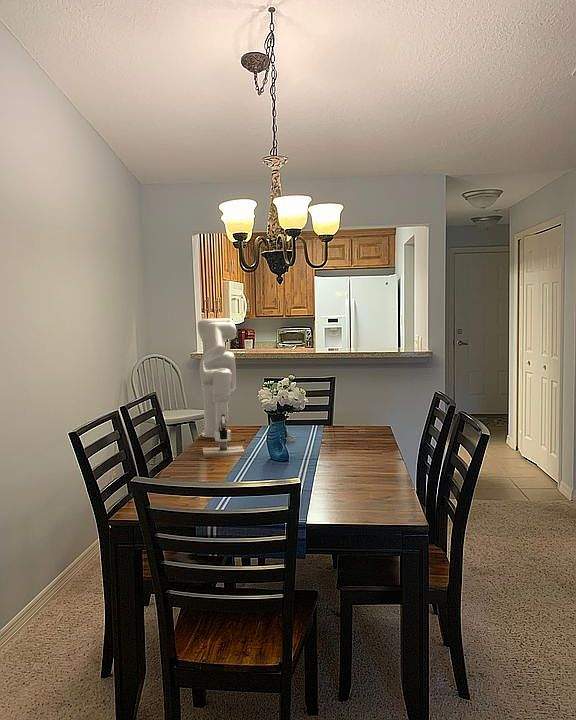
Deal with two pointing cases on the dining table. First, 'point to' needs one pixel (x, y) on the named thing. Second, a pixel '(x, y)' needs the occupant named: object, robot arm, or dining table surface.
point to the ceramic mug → (290, 437)
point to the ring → (217, 436)
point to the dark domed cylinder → (223, 445)
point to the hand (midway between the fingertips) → (223, 437)
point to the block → (217, 452)
